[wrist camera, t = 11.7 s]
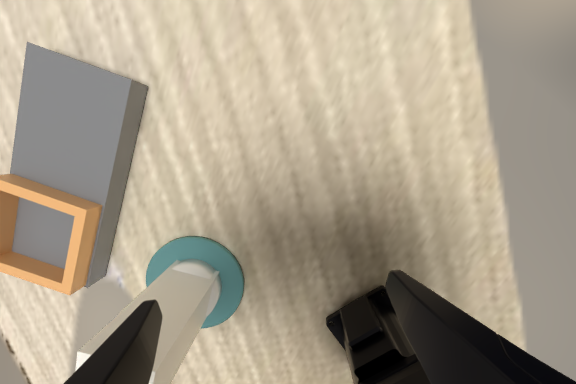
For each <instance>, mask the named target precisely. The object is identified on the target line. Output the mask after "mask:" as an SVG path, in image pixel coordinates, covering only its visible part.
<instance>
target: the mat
mask: <svg viewBox="0 0 576 384" xmlns="http://www.w3.org/2000/svg"><path fill="white" fill-rule="evenodd" d="M184 259H198V260H202V261H204V262H206V263H208V264H210V265H211V266H212V267H213V268H214V269H215V270H216V271H220V272H219V276H220V279H221V282H222V292H221V295H220V297H219V299H218V301H217V303H216V305H215V307H214V309H213V310H212V312H211V313H210V314H209V315H208V316H207V317H206V319H205V321H204V323H203V325H202V327H201V328H208V327H212V326H215V325H218V324H220V323H222V322H224V321H225V320H227V319H228V318H229V317H230V316H231V315H232V314H233V313H234V312H235V310H236V309H237V307H238V305H239V303H240V300H241V298H242V295H243V290H244V278H243V273H242V270H241V267H240V265H239V263H238V261H237V260H236V259H235V257H234V256H233V255H232V254H231V252H230V251H228V250H227V249H226V248H225V247H224V246H222V245H221V244H219V243H217V242H215V241H213V240H210V239H208V238H204V237H197V236H187V237H181V238H178V239H175V240H173V241H171V242H169V243H167V244H166V245H164V246H163V247H162V248H161V249H159V250H158V251H157V252H156V253H155V255H154V256H153V257H152V259H151V261H150V263H149V265H148V268H147V273H146V286H147V287H148V286H149V285H150V284H151V283H152V282H153V281H154V280H155V279H157V278H158V277H159V276H160V275H161V274H162V273H163V272H164V271H165V270H166V269H167V268H168V267H170V266H171V265H172V264H173V263H174V262H175V261H176V260H179V261H181V260H184Z"/></svg>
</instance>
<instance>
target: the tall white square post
mask: <svg viewBox="0 0 576 384" xmlns="http://www.w3.org/2000/svg"><path fill="white" fill-rule="evenodd" d="M219 272H220V271H216V270H215V269H214V268H213V267H212V266H211V265H210V264H208V263H206V262H204V261H202V260H198V259H184V260H181V261H179V260H176V261H175V262H174V263H173V264H172V265H171V266H170V267H168V268H167V269H166V270H165V271H164V272H163V273H162V274H161V275H160V276H159V277H158V278H157V279H155V280H154V281H153V282H152V283H151V284H150V285H149V286H148V287H147V288H146V289H145V290H144V291H142V292H141V293H140V294H139V295H138V296H137V297H136V298H135V299H134V300H133V301H132V302H131V303H130V304H129V305H127V306H126V307H125V308H124V309H123V310H122V311H121V312H120V313H119V314H118V315H117V316H116V317H114V318H113V319H112V320H111V321H110V322H109V323H108V324H107V325H106V326H105V327H104V328H102V330H101V331H99V332H98V333H97V334H96V335H95V336H94V337H93V338H92V339H91V340H90V341H88V342H87V343H86V344H85V345H84V346H83V347H82V348H81V349H80V350H79V351H78V353H77V362H76V370H77V369H78V368H79V367H80V366H81V365H82V364H83V363H84V362H85V361H86V360H87V359H88V358H89V357H90V356H91V355H92V354H93V353H94V352H95V351H96V350H97V349H98V348H99V346H100V345H101V344H102V343H103V342H104V341H105V340H106V339H107V338H108V337H109V336H110V335H111V334H112V333H113V332H114V331H115V330H116V329H117V328H118V327H119V326H120V325H121V324H122V323H123V322H124V321H125V320H126V318H127V317H128V316H129V315H130V314H131V313H132V312H133V311H134V310H135V309H136V308H137V307H138V306H139V305H140V304H141V303H142V302H143V301H146V300H153V299H155V300H157V302H158V304H159V307H160V309H161V312H162V324H161V330H160V335H159V340H158V346H157V351H156V356H155V361H154V366H153V370H152V374H151V377H150V381H149V384H171V382H172V380H173V378H174V376H175V374H176V373H177V371H178V369H179V367H180V365H181V363H182V362H183V360H184V358H185V356H186V354H187V352H188V351H189V349H190V347H191V345H192V343H193V341H194V339H195V338H196V336H197V334H198V332H199V330H200V328H201V327H202V325H203V323H204V321H205V319H206V317H207V316H208V315H209V314H210V313H211V312H212V310H213V309H214V307H215V305H216V303H217V301H218V299H219V297H220V295H221V292H222V282H221V279H220V276H219ZM76 370H75V371H76Z"/></svg>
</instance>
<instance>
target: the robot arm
mask: <svg viewBox="0 0 576 384" xmlns="http://www.w3.org/2000/svg"><path fill="white" fill-rule="evenodd" d="M382 291H385V292H384V293H383V294H381V292H382ZM331 321H333V323H329V322H331ZM161 324H162V312H161V309H160V307H159V304H158V302H157V300H155V299H153V300H146V301H143V302H142V303H141V304H140V305H139V306H138V307H137V308H136V309H135V310H134V311H133V312H132V313H131V314H130V315H129V316H128V317H127V318H126V320H125V321H124V322H123V323H122V324H121V325H120V326H119V327H118V328H117V329H116V330H115V331H114V332H113V333H112V334H111V335H110V336H109V337H108V338H107V339H106V340H105V341H104V342H103V343H102V344H101V345H100V346H99V348H98V349H97V350H96V351H95V352H94V353H93V354H92V355H91V356H90V357H89V358H88V359H87V360H86V361H85V362H84V363H83V364H82V365H81V366H80V367H79V368H78V369H77V370H76V371H75V372H74V373H73V375H72V376H71V377H70V378H69V379H68V380H67V381H66V382H65V383H64V384H149V381H150V377H151V374H152V370H153V366H154V361H155V356H156V351H157V346H158V340H159V335H160V330H161ZM326 325H327V327H328V328H329V330H330V331H331V332H332V333H333V335H334V336H335V337H336V339H337V340H338V341H339V343H340V344H341V345H342V347H343V348H344V349H345V351H346V353H347V357H348V361H349V366H350V370H351V374H352V379H353V383H354V384H576V382H575V381H574V380H572V379H570V378H569V377H567V376H565V375H563V374H562V373H560V372H558V371H557V370H555V369H553V368H551V367H550V366H548V365H546V364H545V363H543V362H541V361H540V360H538V359H536V358H535V357H533V356H531V355H530V354H528V353H527V352H525V351H524V350H522V349H520V348H519V347H517V346H516V345H514V344H513V343H511V342H509V341H508V340H506V339H505V338H503V337H502V336H500V335H499V334H496V332H494V331H493V330H491V329H490V328H488V327H487V326H485V325H483V324H482V323H480V322H479V321H477V320H476V319H474V318H473V317H471V316H470V315H468V314H467V313H465V312H464V311H462V310H461V309H459V308H458V307H456V306H455V305H453V304H451V303H450V302H448V301H447V300H445V299H444V298H442V297H441V296H439V295H438V294H436V293H435V292H433V291H432V290H430V289H429V288H427V287H426V286H424V285H423V284H421V283H419V282H418V281H416V280H415V279H413V278H412V277H410V276H409V275H407V274H406V273H404V272H403V271H401V270H392V271H390V272H389V274H388V278H387V282H386V287H384V286H380V287H378V288H376V289H375V290H373V291H371V292H369V293H368V294H366V295H364V296H362V297H360V298H358V299H357V300H355V301H353V302H351V303H350V304H348V305H346V306H345V307H343V308H341V310H339V311H337V312H335V313H334V314H332V315H330V316H329V317H327V318H326Z"/></svg>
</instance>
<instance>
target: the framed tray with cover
mask: <svg viewBox="0 0 576 384" xmlns="http://www.w3.org/2000/svg"><path fill="white" fill-rule="evenodd" d="M147 89H148V86H146V85H144V84H141V83H139V82H136V81H134V80H131V79H128V78H126V77H123V76H120V75H117V74H114V73H112V72H109V71H106V70H103V69H101V68H98V67H95V66H92V65H90V64H87V63H84V62H81V61H79V60H76V59H73V58H70V57H68V56H65V55H62V54H59V53H56V52H54V51H51V50H48V49H45V48H43V47H40V46H37V45H34V44H32V43H29V42H27V46H26V54H25V62H24V69H23V77H22V85H21V92H20V100H19V108H18V116H17V123H16V131H15V139H14V147H13V154H12V162H11V170H10V174H6V175H0V272H3V273H6V274H9V275H12V276H15V277H18V278H21V279H24V280H26V281H29V282H32V283H35V284H38V285H41V286H44V287H47V288H50V289H53V290H56V291H59V292H62V293H65V294H67V295H71V294H73V293H74V292H76V291H77V290H79V289H80V288H82V287H83V286H84V287H87V288H88V287H89V286H91V285H92V284H94V283H95V282H97V281H98V280H100V279H101V278H103V277H104V276H105V275H106V271H107V266H108V262H109V258H110V253H111V249H112V244H113V240H114V235H115V231H116V227H117V222H118V218H119V213H120V209H121V204H122V200H123V196H124V191H125V187H126V182H127V178H128V173H129V169H130V165H131V160H132V156H133V151H134V147H135V143H136V138H137V134H138V129H139V125H140V120H141V116H142V112H143V107H144V103H145V98H146V94H147Z"/></svg>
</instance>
